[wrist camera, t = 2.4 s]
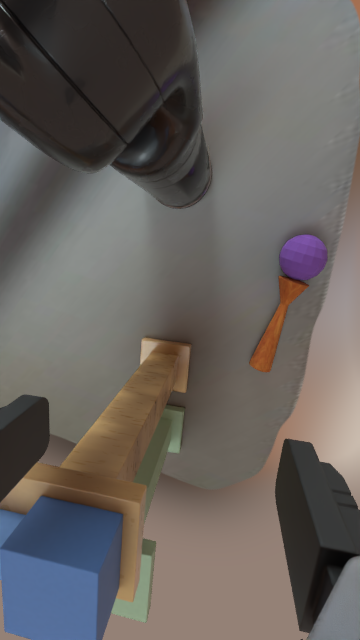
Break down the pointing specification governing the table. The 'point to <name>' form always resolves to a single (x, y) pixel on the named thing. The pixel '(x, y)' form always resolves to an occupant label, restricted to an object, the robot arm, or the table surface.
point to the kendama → (290, 290)
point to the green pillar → (148, 474)
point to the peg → (59, 570)
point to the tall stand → (114, 454)
